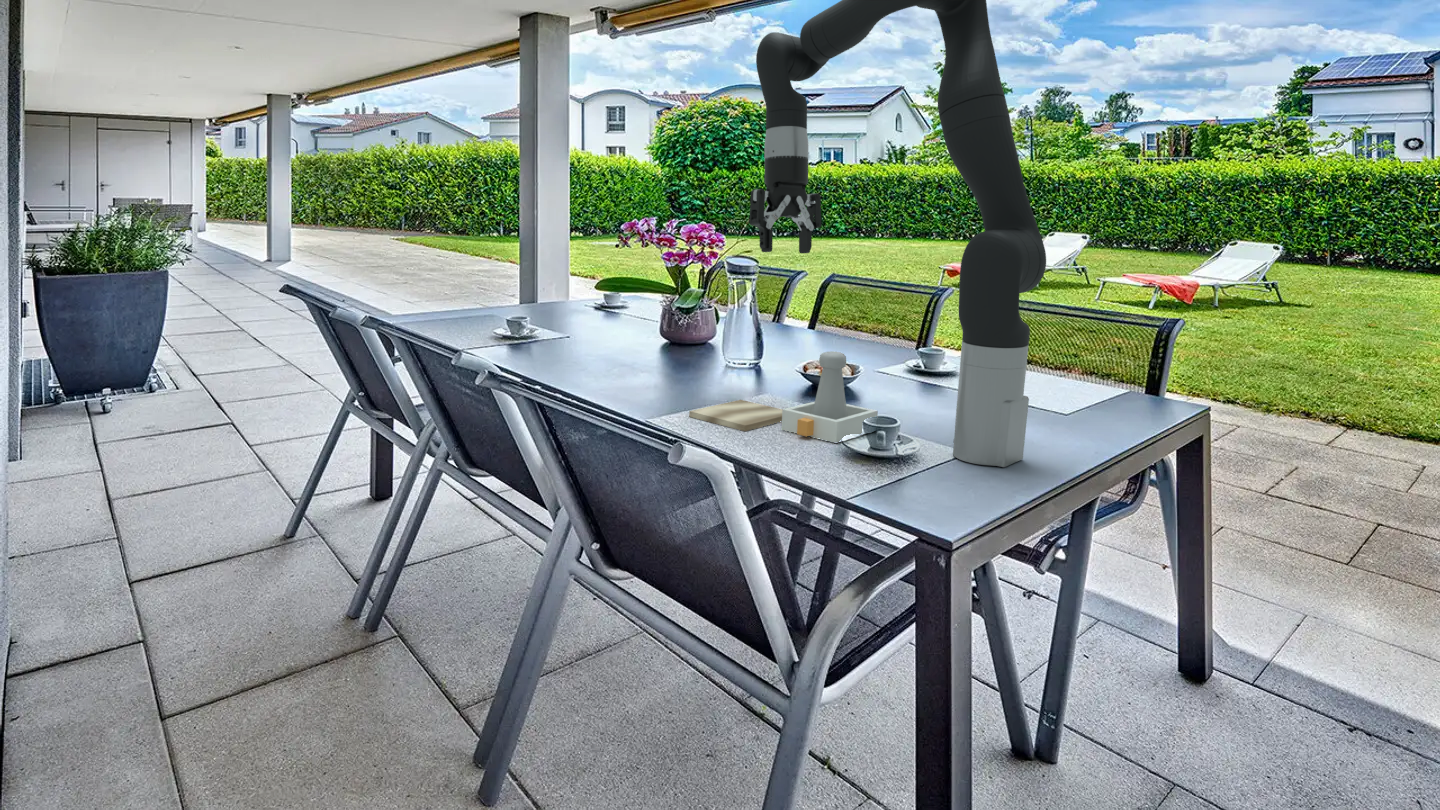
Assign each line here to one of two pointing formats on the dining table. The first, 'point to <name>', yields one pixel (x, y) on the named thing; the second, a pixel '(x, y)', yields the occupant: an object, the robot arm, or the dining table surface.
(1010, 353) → the robot arm
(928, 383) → the dining table surface
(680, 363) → the dining table surface
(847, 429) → the pale grey open tray
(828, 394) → the salt shaker
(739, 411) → the oak board
